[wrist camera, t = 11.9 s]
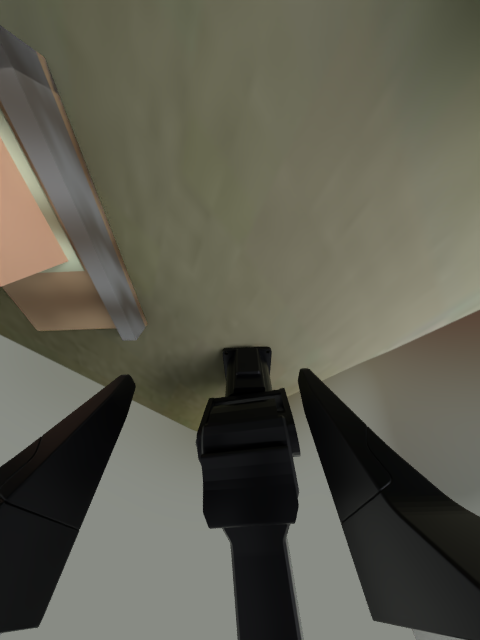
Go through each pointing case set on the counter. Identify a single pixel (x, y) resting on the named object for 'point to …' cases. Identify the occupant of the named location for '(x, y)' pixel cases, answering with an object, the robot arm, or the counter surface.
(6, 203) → the terracotta block
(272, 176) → the counter surface
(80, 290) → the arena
